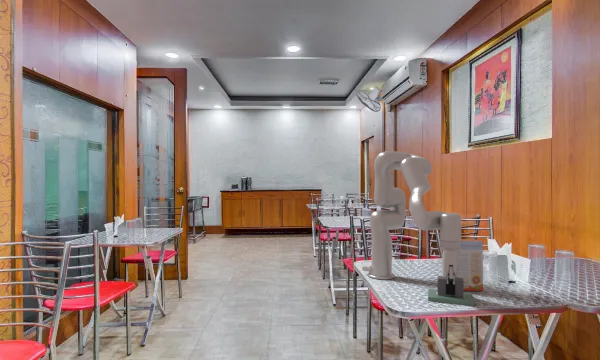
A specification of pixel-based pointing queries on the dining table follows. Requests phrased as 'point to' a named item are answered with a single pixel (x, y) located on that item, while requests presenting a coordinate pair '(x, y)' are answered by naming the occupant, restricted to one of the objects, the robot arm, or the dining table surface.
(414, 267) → the dining table surface
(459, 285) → the block
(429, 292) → the header board
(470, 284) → the cracker box
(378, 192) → the robot arm
